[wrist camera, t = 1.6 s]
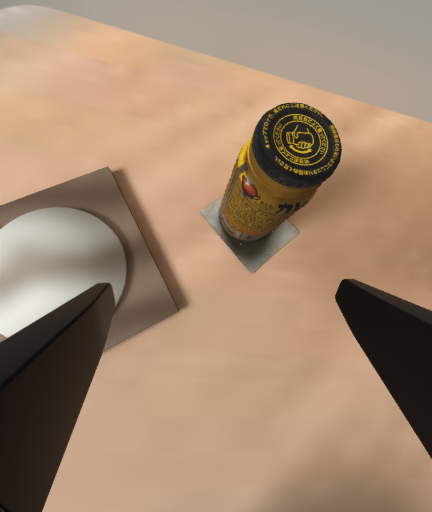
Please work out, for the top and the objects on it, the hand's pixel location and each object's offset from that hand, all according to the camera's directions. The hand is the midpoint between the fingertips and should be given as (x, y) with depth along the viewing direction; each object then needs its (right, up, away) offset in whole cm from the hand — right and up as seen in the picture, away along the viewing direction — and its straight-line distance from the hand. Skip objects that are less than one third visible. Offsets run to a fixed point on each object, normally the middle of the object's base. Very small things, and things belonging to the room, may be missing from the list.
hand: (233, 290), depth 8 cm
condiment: (+3, +5, +15) cm, 16 cm away
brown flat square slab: (-15, 0, +12) cm, 19 cm away
